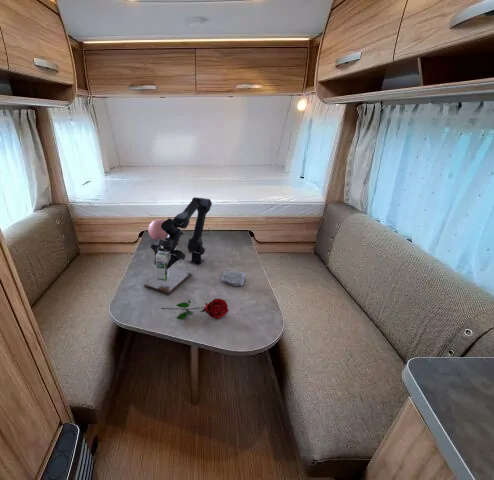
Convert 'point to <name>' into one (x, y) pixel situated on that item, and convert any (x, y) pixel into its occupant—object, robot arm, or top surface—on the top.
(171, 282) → the grey flat tile
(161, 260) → the syrup box
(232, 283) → the stone block
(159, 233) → the balloon
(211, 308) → the flower
